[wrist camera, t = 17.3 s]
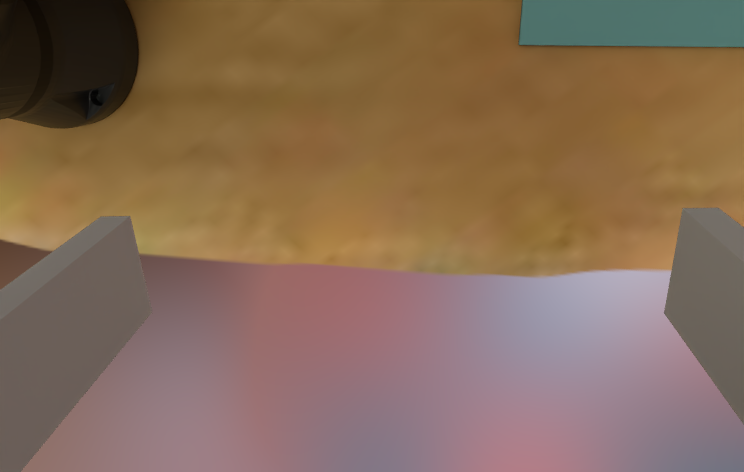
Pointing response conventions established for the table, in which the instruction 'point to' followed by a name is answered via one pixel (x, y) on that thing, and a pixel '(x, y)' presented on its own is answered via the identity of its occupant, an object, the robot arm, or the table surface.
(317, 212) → the table surface
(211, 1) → the table surface
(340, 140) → the table surface
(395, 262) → the table surface
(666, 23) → the teal mat
